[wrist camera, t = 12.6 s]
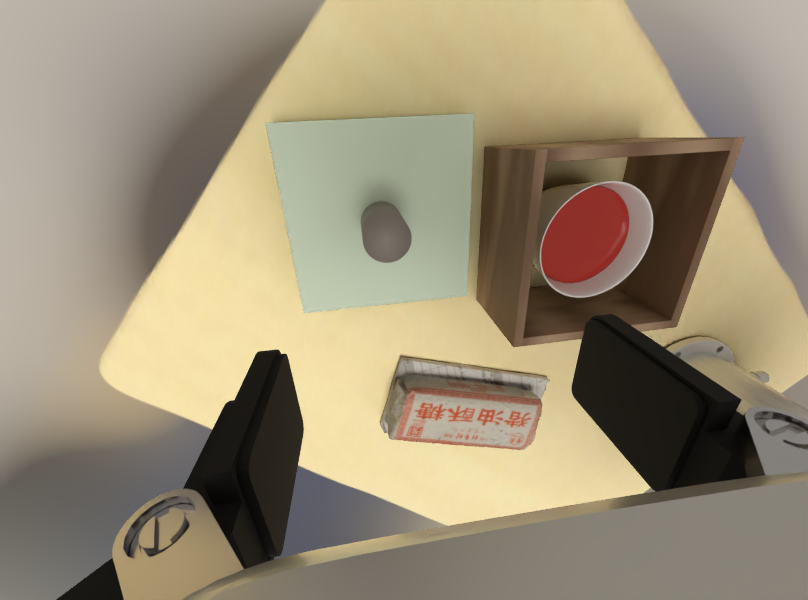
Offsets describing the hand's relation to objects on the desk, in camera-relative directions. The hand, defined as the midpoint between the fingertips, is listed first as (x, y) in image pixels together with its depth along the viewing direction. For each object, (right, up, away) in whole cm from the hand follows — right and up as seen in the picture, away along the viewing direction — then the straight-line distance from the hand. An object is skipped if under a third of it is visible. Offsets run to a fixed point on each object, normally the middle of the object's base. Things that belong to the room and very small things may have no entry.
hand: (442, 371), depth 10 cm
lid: (-3, +9, +18) cm, 20 cm away
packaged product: (+6, -9, +29) cm, 31 cm away
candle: (+13, +9, +21) cm, 26 cm away
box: (+13, +9, +20) cm, 26 cm away
